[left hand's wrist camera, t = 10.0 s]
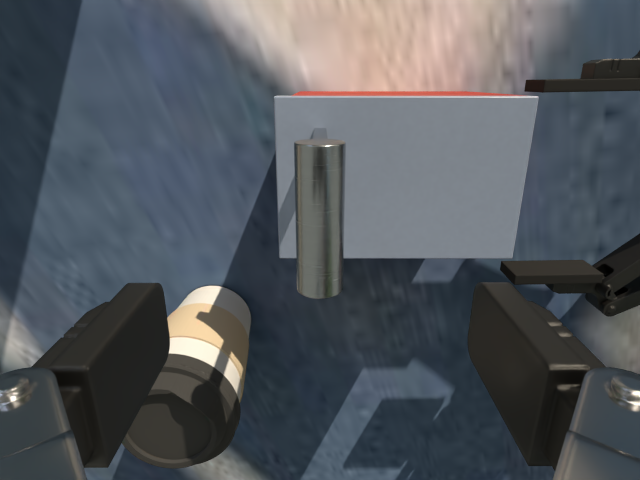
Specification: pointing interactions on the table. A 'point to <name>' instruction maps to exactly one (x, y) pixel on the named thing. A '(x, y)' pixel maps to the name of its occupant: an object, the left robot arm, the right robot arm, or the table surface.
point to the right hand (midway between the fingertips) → (519, 186)
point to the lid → (397, 179)
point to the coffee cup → (196, 383)
